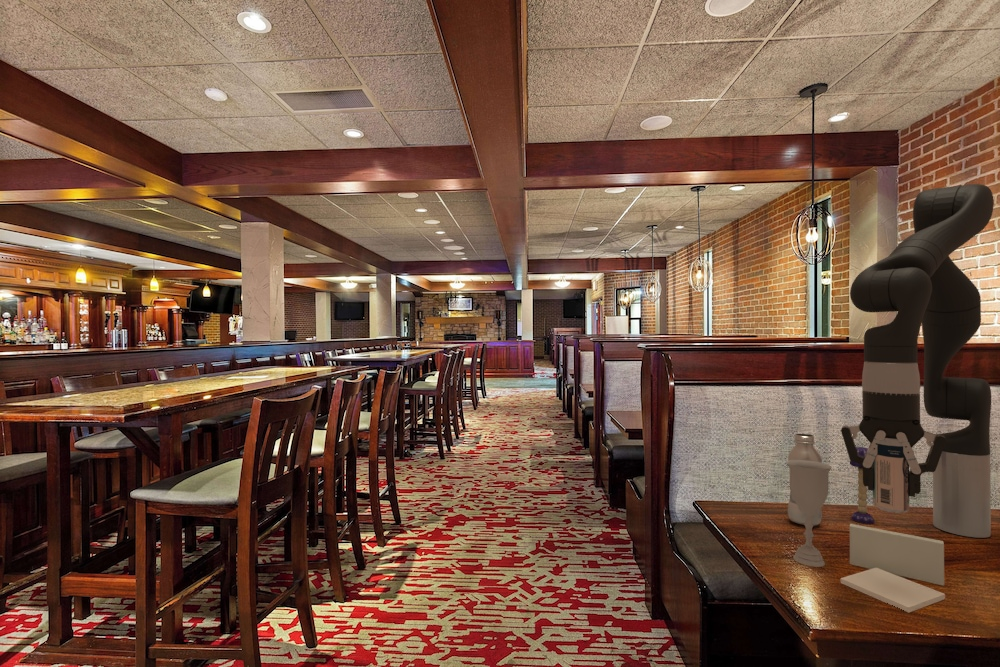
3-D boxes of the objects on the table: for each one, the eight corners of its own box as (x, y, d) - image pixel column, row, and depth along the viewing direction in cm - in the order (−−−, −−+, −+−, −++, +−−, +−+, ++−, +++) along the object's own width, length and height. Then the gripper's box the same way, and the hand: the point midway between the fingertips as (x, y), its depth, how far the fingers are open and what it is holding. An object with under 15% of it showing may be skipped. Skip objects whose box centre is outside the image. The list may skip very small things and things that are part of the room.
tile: (876, 572, 88) (876, 567, 88) (945, 599, 79) (945, 593, 79) (840, 582, 84) (840, 578, 84) (908, 612, 75) (908, 607, 75)
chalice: (790, 565, 91) (790, 467, 91) (783, 550, 97) (782, 458, 97) (837, 571, 88) (836, 470, 89) (826, 556, 95) (826, 461, 95)
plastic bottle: (782, 518, 115) (782, 431, 115) (813, 519, 114) (813, 432, 114) (794, 528, 108) (794, 437, 109) (828, 530, 108) (827, 438, 108)
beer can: (916, 515, 79) (916, 440, 79) (882, 513, 80) (882, 439, 80) (898, 505, 84) (898, 434, 84) (867, 503, 85) (866, 433, 85)
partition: (849, 564, 91) (849, 526, 91) (850, 561, 93) (850, 523, 93) (944, 585, 83) (943, 544, 83) (943, 582, 85) (943, 541, 85)
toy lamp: (879, 525, 110) (879, 450, 111) (856, 524, 111) (856, 449, 111) (867, 517, 115) (867, 446, 115) (845, 516, 116) (845, 445, 116)
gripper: (836, 388, 83) (837, 490, 83) (951, 394, 75) (952, 507, 75) (839, 385, 89) (839, 480, 89) (945, 390, 81) (946, 495, 81)
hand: (891, 492), depth 82 cm, fingers closed on beer can, 4 cm apart
